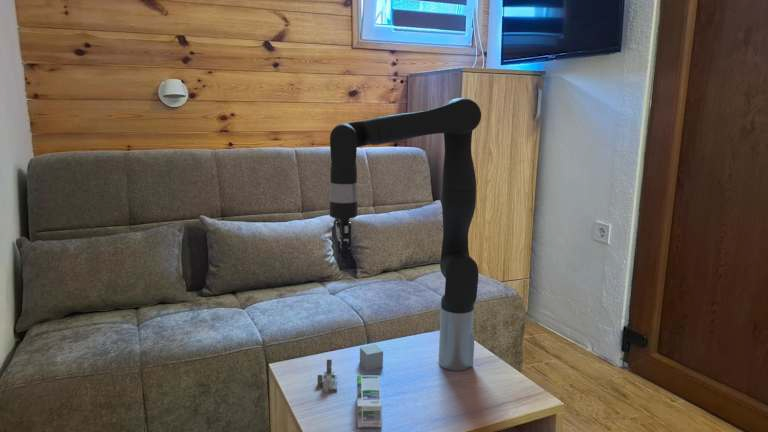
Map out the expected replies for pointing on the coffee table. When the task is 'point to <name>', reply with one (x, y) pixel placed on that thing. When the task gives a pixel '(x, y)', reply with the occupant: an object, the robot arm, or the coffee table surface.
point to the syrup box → (369, 401)
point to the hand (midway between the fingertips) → (343, 257)
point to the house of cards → (328, 379)
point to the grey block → (371, 357)
